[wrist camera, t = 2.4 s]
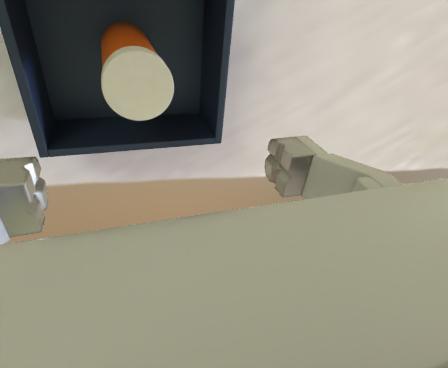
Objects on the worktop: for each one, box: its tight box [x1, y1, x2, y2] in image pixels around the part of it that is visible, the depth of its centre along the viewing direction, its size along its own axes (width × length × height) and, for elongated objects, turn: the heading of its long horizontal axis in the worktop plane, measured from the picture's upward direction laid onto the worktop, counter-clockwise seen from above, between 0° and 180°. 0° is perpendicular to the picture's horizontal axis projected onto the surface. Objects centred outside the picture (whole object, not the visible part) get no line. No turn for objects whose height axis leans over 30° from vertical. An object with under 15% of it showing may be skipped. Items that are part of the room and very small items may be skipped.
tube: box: [101, 22, 174, 121], centre depth 21 cm, size 4×4×10 cm
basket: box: [0, 0, 235, 158], centre depth 23 cm, size 14×13×6 cm
